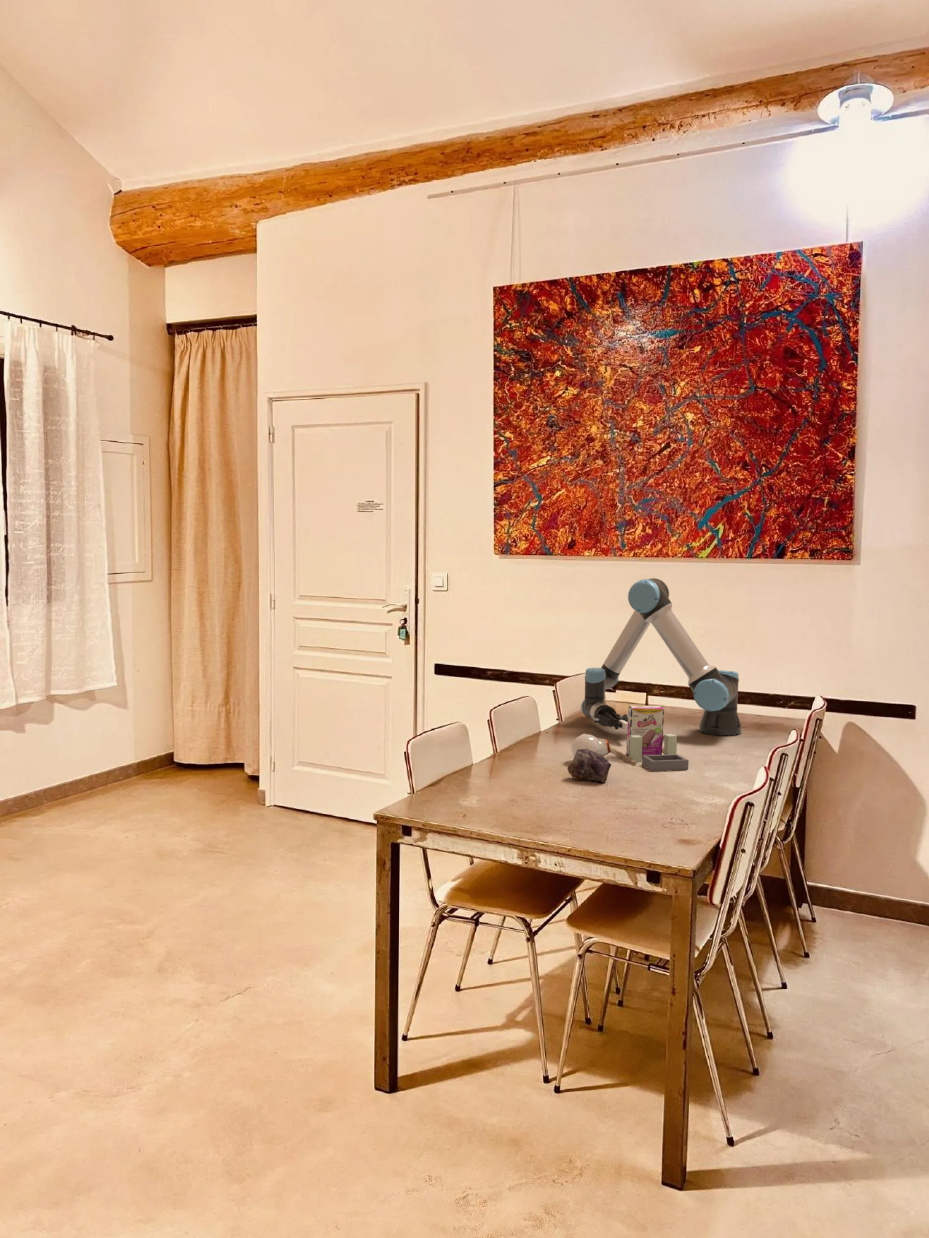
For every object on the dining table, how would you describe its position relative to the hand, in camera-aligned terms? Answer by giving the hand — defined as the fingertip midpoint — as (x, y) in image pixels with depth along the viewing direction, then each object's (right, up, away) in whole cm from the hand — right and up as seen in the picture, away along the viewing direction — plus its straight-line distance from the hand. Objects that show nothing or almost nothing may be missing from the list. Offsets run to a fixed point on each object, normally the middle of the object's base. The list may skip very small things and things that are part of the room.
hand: (627, 727), depth 334 cm
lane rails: (+3, -7, -13) cm, 15 cm away
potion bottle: (-16, -8, -23) cm, 30 cm away
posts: (+5, -8, -21) cm, 23 cm away
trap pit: (+7, -9, -30) cm, 32 cm away
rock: (-19, -11, -46) cm, 51 cm away
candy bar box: (+3, -8, -15) cm, 17 cm away
